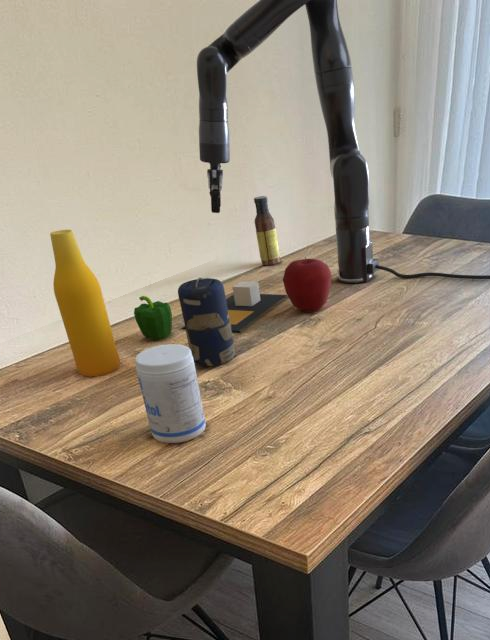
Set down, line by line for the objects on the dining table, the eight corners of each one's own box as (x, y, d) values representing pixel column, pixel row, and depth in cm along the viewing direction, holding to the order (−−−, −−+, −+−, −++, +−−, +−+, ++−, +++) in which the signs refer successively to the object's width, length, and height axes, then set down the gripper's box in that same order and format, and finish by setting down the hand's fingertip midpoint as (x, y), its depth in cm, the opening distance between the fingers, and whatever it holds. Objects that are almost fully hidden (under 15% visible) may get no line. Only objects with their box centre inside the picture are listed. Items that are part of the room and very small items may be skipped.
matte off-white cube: (260, 300, 179) (258, 281, 176) (252, 306, 175) (249, 287, 173) (244, 299, 181) (241, 281, 178) (235, 305, 177) (232, 286, 174)
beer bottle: (104, 378, 143) (64, 237, 127) (69, 375, 146) (26, 237, 130) (129, 362, 150) (94, 226, 134) (95, 359, 153) (57, 226, 137)
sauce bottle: (282, 260, 216) (274, 194, 205) (279, 265, 211) (270, 198, 200) (262, 261, 217) (253, 195, 206) (258, 266, 211) (249, 199, 201)
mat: (288, 296, 182) (287, 294, 181) (239, 332, 160) (238, 330, 160) (236, 294, 187) (236, 292, 187) (182, 329, 166) (182, 327, 166)
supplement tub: (141, 436, 118) (121, 358, 110) (183, 415, 124) (166, 339, 116) (176, 450, 113) (157, 369, 105) (218, 428, 119) (203, 349, 111)
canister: (243, 353, 148) (230, 271, 139) (224, 370, 141) (209, 285, 131) (205, 351, 151) (189, 271, 142) (184, 368, 144) (166, 284, 134)
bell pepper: (182, 335, 162) (174, 294, 157) (154, 345, 157) (144, 304, 152) (162, 329, 167) (153, 289, 162) (134, 339, 162) (124, 298, 157)
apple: (279, 317, 168) (272, 263, 161) (298, 302, 177) (292, 250, 170) (323, 319, 164) (318, 263, 156) (340, 304, 172) (336, 251, 165)
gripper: (229, 144, 163) (230, 215, 171) (229, 139, 175) (230, 205, 183) (197, 143, 162) (200, 214, 170) (200, 137, 174) (202, 204, 182)
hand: (216, 209), depth 177 cm, fingers open, 8 cm apart
